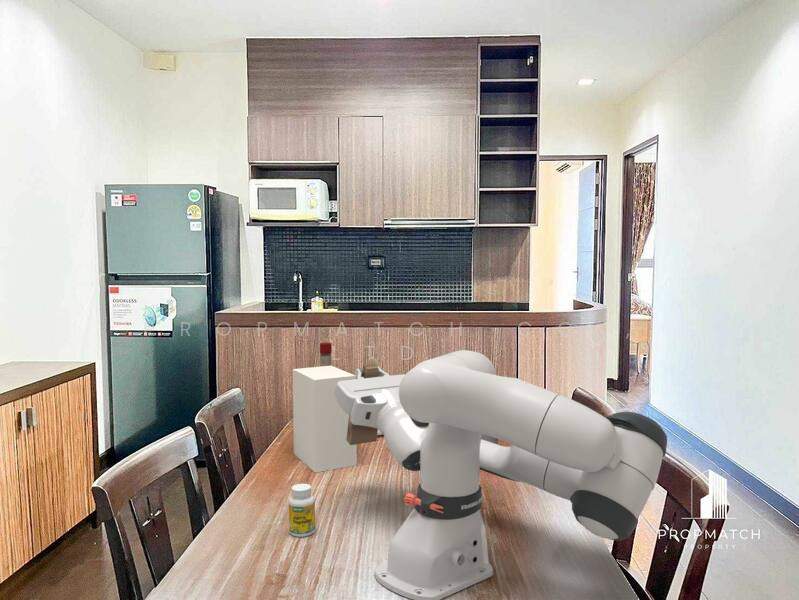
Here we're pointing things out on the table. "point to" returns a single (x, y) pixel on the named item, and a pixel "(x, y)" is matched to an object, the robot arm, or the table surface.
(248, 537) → the table surface
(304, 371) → the stand
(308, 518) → the supplement bottle
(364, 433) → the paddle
